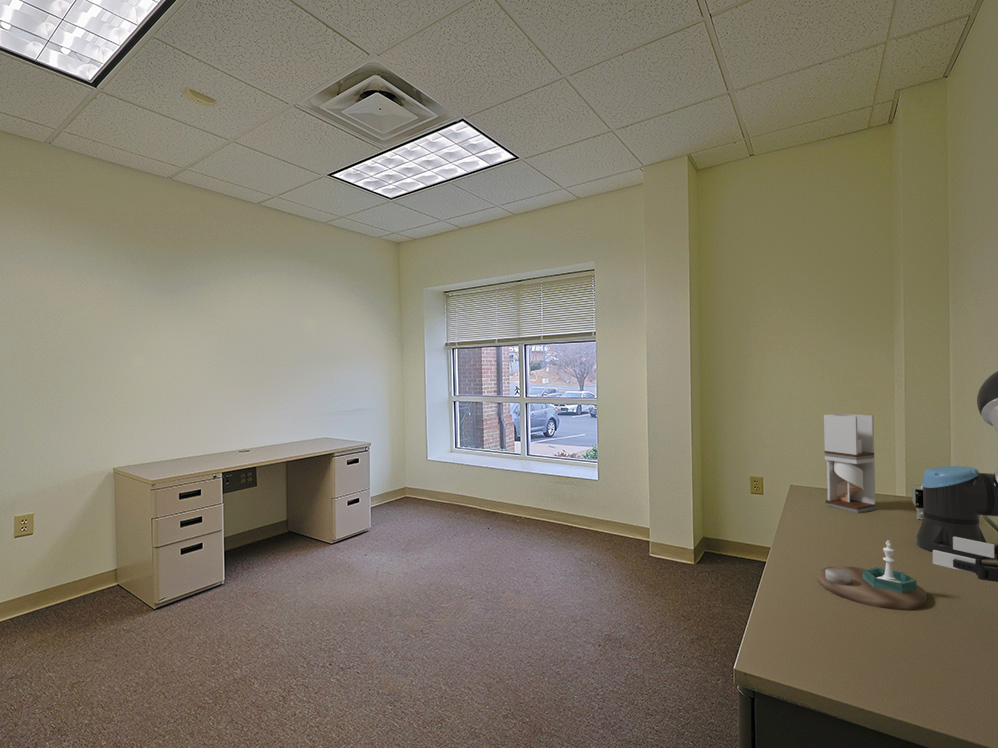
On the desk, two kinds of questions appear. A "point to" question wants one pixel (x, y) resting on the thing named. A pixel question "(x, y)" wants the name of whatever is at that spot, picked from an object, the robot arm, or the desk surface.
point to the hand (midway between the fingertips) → (943, 549)
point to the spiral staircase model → (850, 461)
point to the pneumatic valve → (918, 500)
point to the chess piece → (888, 564)
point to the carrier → (873, 587)
